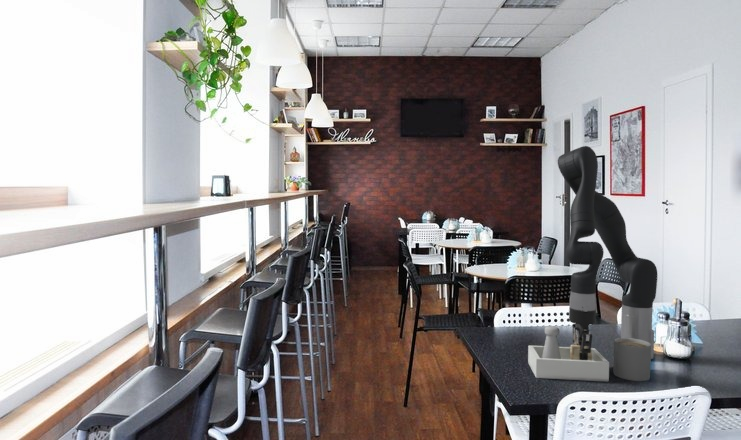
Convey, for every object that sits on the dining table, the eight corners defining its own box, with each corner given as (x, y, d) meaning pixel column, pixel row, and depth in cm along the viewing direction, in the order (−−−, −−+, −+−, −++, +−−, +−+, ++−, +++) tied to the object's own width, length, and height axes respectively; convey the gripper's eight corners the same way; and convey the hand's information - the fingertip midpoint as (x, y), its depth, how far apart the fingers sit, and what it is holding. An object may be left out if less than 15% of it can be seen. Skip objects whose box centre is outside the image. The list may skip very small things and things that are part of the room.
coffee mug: (641, 383, 152) (642, 349, 151) (607, 374, 159) (608, 341, 159) (660, 373, 160) (661, 341, 160) (627, 365, 168) (628, 334, 167)
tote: (594, 365, 167) (594, 348, 167) (608, 381, 153) (609, 362, 153) (528, 362, 170) (528, 345, 170) (536, 377, 156) (536, 359, 155)
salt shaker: (559, 366, 164) (560, 325, 164) (562, 372, 159) (563, 329, 158) (540, 365, 165) (541, 324, 165) (542, 371, 160) (543, 328, 159)
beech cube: (570, 360, 164) (570, 344, 163) (587, 361, 163) (587, 345, 163) (574, 365, 159) (574, 349, 159) (591, 366, 158) (592, 350, 158)
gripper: (564, 301, 168) (562, 354, 168) (575, 311, 153) (573, 369, 154) (589, 302, 167) (587, 355, 167) (602, 312, 152) (600, 370, 153)
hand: (580, 361), depth 161 cm, fingers closed on beech cube, 5 cm apart
